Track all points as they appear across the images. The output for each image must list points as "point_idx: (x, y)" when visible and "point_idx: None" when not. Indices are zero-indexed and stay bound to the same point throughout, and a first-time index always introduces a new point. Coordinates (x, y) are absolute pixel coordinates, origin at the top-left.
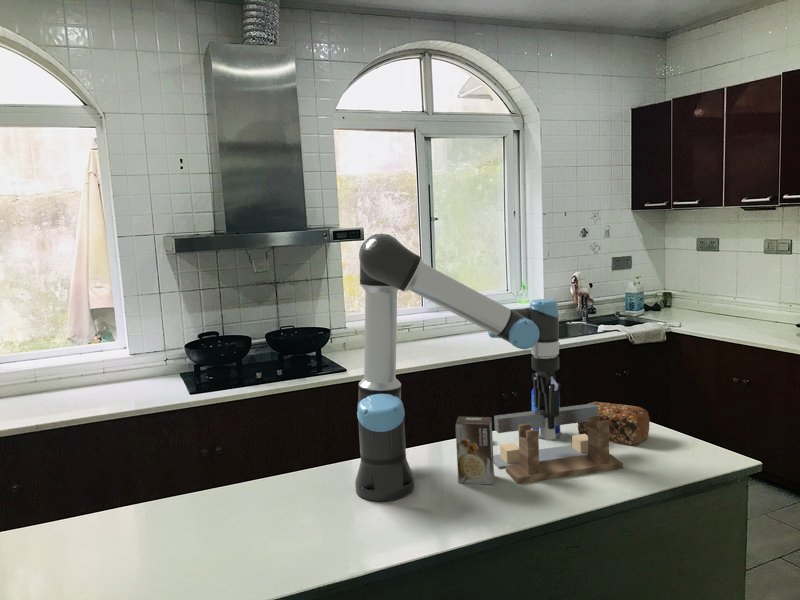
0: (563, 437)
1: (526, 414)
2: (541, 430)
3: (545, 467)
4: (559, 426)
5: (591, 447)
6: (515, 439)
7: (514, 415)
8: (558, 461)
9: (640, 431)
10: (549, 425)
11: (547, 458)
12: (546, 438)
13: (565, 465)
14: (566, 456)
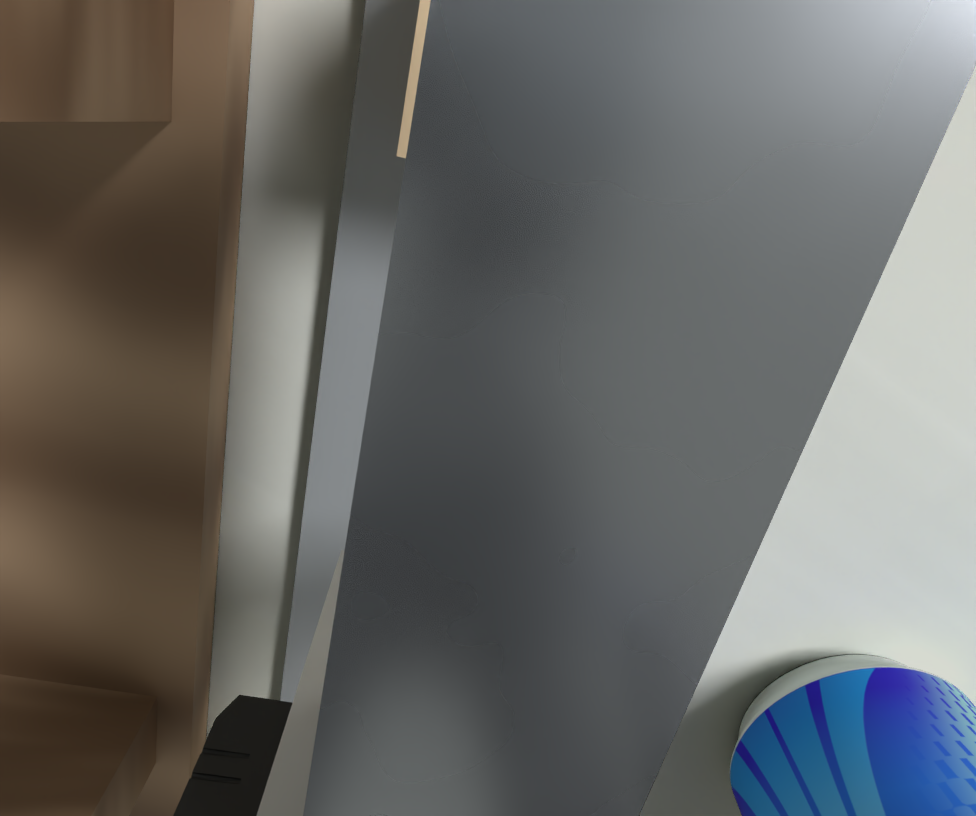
0: (700, 785)
1: (439, 633)
2: None
3: (33, 232)
4: None
5: (28, 785)
6: (964, 481)
7: (610, 208)
8: (145, 443)
9: None
10: (221, 751)
11: (350, 435)
12: (337, 567)
13: (22, 438)
14: (315, 591)
